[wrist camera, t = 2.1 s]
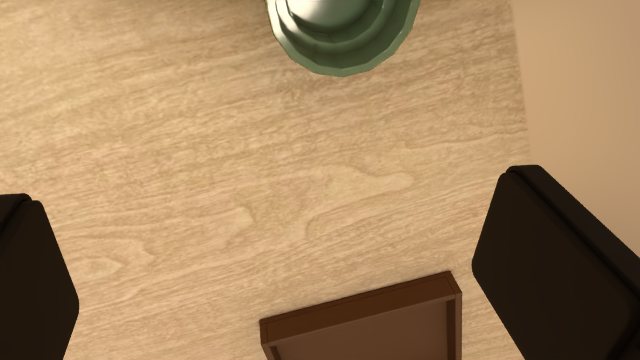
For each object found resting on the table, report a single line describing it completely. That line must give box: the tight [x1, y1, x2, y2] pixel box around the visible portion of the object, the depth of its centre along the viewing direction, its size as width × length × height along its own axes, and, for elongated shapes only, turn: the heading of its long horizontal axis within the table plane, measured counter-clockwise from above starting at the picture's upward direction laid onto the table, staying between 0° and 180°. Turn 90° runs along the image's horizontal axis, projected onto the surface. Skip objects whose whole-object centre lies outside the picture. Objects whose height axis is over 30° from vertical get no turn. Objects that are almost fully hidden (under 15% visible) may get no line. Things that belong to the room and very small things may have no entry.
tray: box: [259, 271, 462, 360], centre depth 42 cm, size 17×14×2 cm
